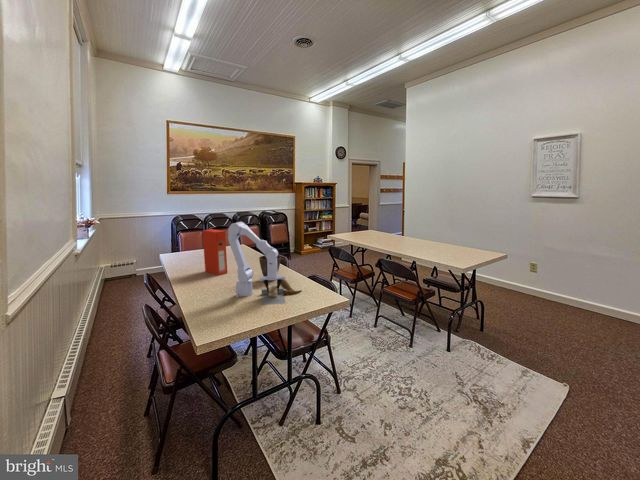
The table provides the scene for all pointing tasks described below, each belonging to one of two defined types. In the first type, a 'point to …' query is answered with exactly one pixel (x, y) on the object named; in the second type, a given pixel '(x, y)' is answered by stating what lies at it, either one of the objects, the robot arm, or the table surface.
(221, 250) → the file binder
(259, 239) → the robot arm
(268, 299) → the wall board
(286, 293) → the hammer
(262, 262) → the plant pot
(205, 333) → the table surface
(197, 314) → the table surface
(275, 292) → the cabinet block
